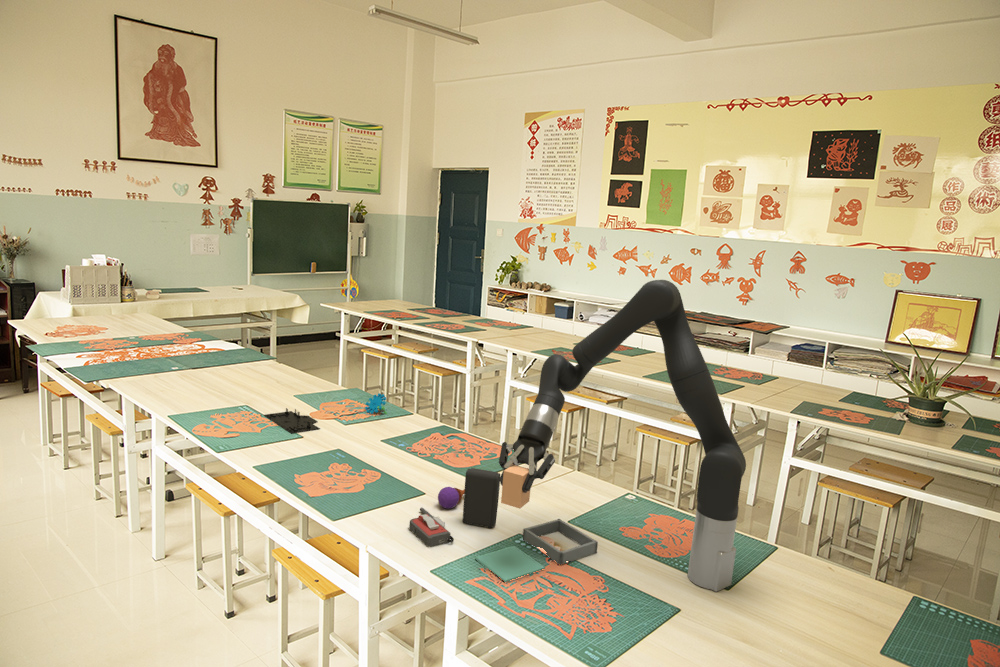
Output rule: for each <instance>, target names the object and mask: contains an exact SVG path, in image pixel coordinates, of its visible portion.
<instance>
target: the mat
mask: <svg viewBox="0 0 1000 667" xmlns="http://www.w3.org/2000/svg"><path fill="white" fill-rule="evenodd" d="M475 559H476V560H477V561H476V560H475ZM474 560H475V561H476V562H478V563H479V562H480V563H481V564H482V565H481V564H480V563H479V564H480V565H481V566H483V565H484V566H485V567H486V568H485V567H484V566H483V567H484V568H485V569H487V568H488V569H489V570H491V571H492V572H493V573H494V574H496V575H497V576H498V577H500V578H501V579H502V580H504V582H507V581H510V580H512V579H516V578H518V577H521V576H524V575H527V574H530V573H533V572H536V571H539V570H542V569H545V570H546V566H544V565H542V564H541V563H540V562H538V561H536V559H534V558H532V557H531V556H529V555H528V554H526V553H525V552H524V551H523V550H521V549H520V548H518V547H517V546H515V545H511V546H508V547H505V548H501V549H498V550H494V551H491V552H488V553H485V554H482V555H481V554H480V555H478V556H475V557H474ZM488 569H487V570H488ZM489 570H488V571H489ZM542 571H543V570H542ZM492 572H491V573H492ZM539 572H540V571H539ZM493 573H492V574H493ZM536 573H537V572H536ZM494 574H493V575H494ZM533 574H534V573H533ZM497 576H496V577H497ZM498 577H497V578H498ZM502 580H501V581H502ZM516 580H517V579H516ZM504 582H503V583H504ZM510 582H511V581H510ZM507 583H508V582H507Z"/></svg>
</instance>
